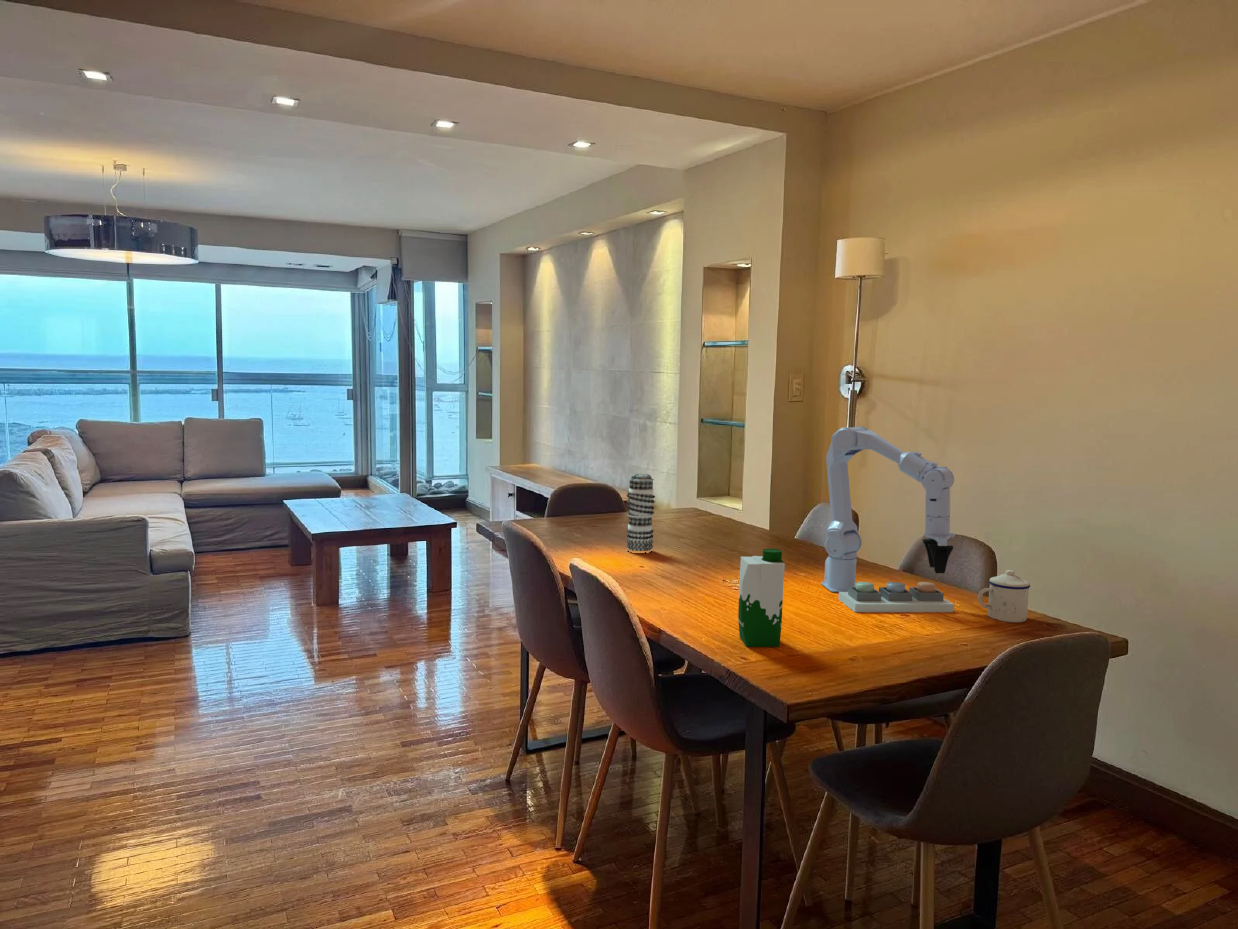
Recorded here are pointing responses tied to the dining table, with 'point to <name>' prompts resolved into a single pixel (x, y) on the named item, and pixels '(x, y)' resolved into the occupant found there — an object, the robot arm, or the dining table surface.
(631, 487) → the decorative candle
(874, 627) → the dining table surface
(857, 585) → the sage button
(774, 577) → the milk carton
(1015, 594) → the teacup with lid
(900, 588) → the dusty blue button
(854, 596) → the button console
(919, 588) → the terracotta button
